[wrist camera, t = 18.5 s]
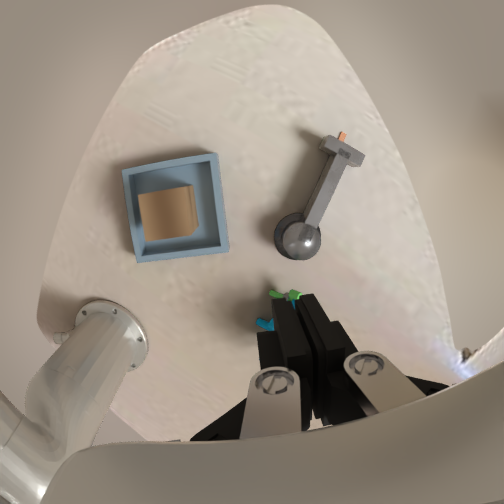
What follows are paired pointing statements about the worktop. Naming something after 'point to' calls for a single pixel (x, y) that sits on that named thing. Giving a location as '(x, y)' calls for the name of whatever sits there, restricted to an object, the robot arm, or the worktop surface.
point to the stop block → (168, 213)
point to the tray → (206, 197)
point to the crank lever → (319, 200)
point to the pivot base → (289, 219)
